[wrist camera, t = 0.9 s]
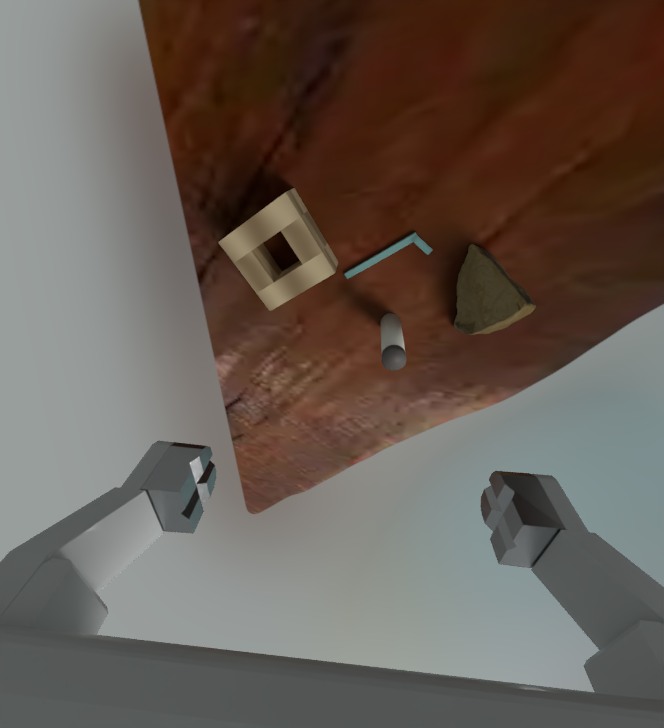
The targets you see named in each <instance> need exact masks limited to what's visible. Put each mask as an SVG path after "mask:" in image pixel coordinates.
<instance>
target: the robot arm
mask: <svg viewBox="0 0 664 728" xmlns="http://www.w3.org/2000/svg"><path fill="white" fill-rule="evenodd" d="M211 457H212V451H211V448H210V447H208V446H202V445H193V444H184V443H176V442H164V441H157V442H156V443H154V444H153V445H152V446H151V447H150V449H149V450H148V451H147V453H146V454H145V455H144V457H143V458H142V459H141V461H140V462H139V464H138V465H137V466H136V468H135V469H134V470H133V472H132V473H131V474H130V476H129V477H128V478H127V480H126V481H125V483H124V484H123V485H122V487H121V488H114V489H112V490H110V491H109V492H107V493H105V494H104V495H102V496H100V497H99V498H97V499H96V500H94V501H92V502H91V503H89V504H87V505H86V506H84V507H82V508H81V509H79V510H77V511H76V512H74V513H72V514H71V515H69V516H68V517H66V518H64V519H63V520H61V521H60V522H58V523H56V524H54V525H53V526H51V527H49V528H48V529H46V530H45V531H43V532H41V533H40V534H38V535H36V536H35V537H33V538H31V539H30V540H28V541H26V542H25V543H23V544H22V545H20V546H18V547H17V548H15V549H13V550H12V551H10V552H9V553H8V554H7V555H6V557H5V558H4V559H3V560H2V561H1V562H0V728H664V587H663V586H661V585H660V584H659V583H658V582H656V581H655V580H654V579H652V578H651V577H650V576H649V575H647V574H646V573H645V572H644V571H642V570H641V569H640V568H639V567H637V566H636V565H635V564H634V563H632V562H631V561H630V560H628V559H627V558H626V557H625V556H623V555H622V554H621V553H619V552H618V551H617V550H616V549H615V548H613V547H612V546H611V545H609V544H608V543H607V542H606V541H604V540H603V539H602V538H601V537H599V536H598V535H597V534H596V533H590V532H588V530H587V528H586V527H585V525H584V524H583V522H582V520H581V519H580V517H579V515H578V514H577V512H576V511H575V509H574V507H573V506H572V504H571V502H570V501H569V499H568V498H567V496H566V494H565V493H564V491H563V489H562V488H561V486H560V485H559V483H558V481H557V480H556V479H555V478H554V477H553V476H549V475H538V474H537V475H536V474H529V473H515V472H502V471H495V472H493V473H492V474H491V476H490V479H489V481H490V483H491V486H489V487H488V488H486V489H484V491H483V494H482V496H481V511H482V516H483V519H484V522H485V524H486V525H487V526H488V527H489V528H490V529H491V530H492V531H493V533H492V536H491V538H490V540H491V543H492V546H493V549H494V552H495V555H496V557H497V560H498V563H499V564H503V565H511V566H518V567H527V568H532V571H533V573H534V574H535V575H536V576H537V577H538V578H539V579H540V581H541V582H542V583H543V584H544V585H545V586H546V588H547V589H548V590H549V591H550V592H551V594H552V595H553V596H554V597H555V598H556V599H557V601H558V602H559V603H560V604H561V605H562V606H563V608H565V610H566V611H567V612H568V614H569V615H570V616H571V617H572V618H573V619H574V621H575V622H576V623H577V624H578V625H579V626H580V628H582V630H583V631H584V632H585V633H586V634H587V636H588V637H589V638H590V639H591V640H592V642H593V643H594V644H595V645H596V646H597V647H598V649H599V650H600V651H598V652H597V653H596V654H594V655H593V656H592V657H590V658H589V659H588V660H587V661H586V663H585V665H584V668H585V670H586V673H587V675H588V677H589V680H590V682H591V684H592V687H593V689H594V691H595V692H586V691H577V690H569V689H559V688H551V687H543V686H534V685H526V684H516V683H508V682H500V681H491V680H482V679H474V678H465V677H456V676H448V675H439V674H431V673H422V672H413V671H404V670H396V669H387V668H379V667H369V666H361V665H353V664H344V663H336V662H327V661H318V660H310V659H301V658H292V657H284V656H275V655H266V654H257V653H249V652H240V651H231V650H223V649H214V648H206V647H197V646H189V645H179V644H171V643H163V642H154V641H144V640H137V639H128V638H119V637H111V636H102V635H97V633H98V631H99V629H100V627H101V625H102V624H103V622H104V620H105V618H106V616H107V614H108V610H107V606H106V605H105V604H104V603H103V601H102V600H101V599H100V597H99V596H98V595H97V593H98V592H99V591H101V590H102V589H103V588H104V587H105V586H106V585H107V584H108V583H109V582H110V581H112V580H113V579H114V578H115V577H116V576H117V575H118V574H119V573H120V572H121V571H123V570H124V569H125V568H126V567H127V566H128V565H129V564H130V563H131V562H132V561H134V560H135V559H136V558H137V557H138V556H139V555H140V554H141V553H142V552H143V551H145V550H146V548H148V547H149V546H150V545H151V544H152V543H153V542H154V541H155V540H157V539H158V538H159V536H161V535H162V534H163V531H168V532H181V533H194V531H195V529H196V527H197V525H198V523H199V520H200V518H201V516H202V514H203V512H204V511H203V507H202V503H203V502H204V501H205V500H207V499H208V498H209V497H210V496H211V494H212V491H213V489H214V485H215V481H216V468H215V465H214V464H213V463H212V462H211V461H210V459H211Z"/></svg>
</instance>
